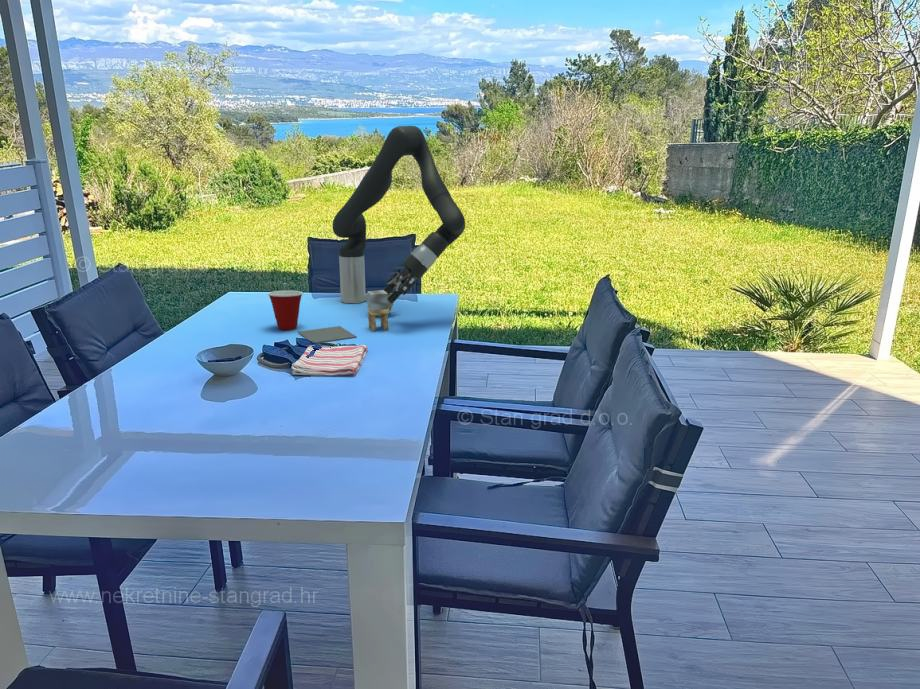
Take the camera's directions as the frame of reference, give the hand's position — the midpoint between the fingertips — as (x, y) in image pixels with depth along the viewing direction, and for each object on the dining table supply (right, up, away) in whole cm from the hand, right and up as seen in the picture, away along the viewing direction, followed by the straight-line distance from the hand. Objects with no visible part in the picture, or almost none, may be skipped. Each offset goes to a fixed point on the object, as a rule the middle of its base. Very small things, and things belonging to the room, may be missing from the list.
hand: (386, 298), depth 213 cm
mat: (-18, -12, -6) cm, 22 cm away
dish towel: (-11, -20, -31) cm, 39 cm away
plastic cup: (-32, -9, +2) cm, 33 cm away
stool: (-3, -10, +2) cm, 10 cm away
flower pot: (-4, -5, +19) cm, 20 cm away
